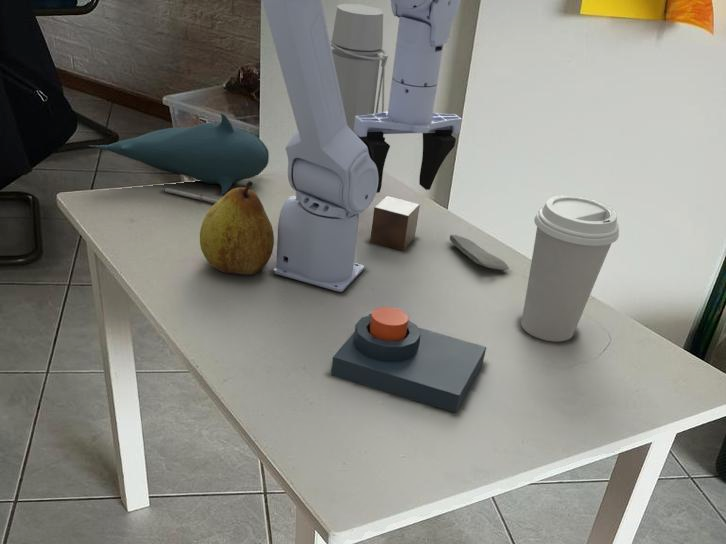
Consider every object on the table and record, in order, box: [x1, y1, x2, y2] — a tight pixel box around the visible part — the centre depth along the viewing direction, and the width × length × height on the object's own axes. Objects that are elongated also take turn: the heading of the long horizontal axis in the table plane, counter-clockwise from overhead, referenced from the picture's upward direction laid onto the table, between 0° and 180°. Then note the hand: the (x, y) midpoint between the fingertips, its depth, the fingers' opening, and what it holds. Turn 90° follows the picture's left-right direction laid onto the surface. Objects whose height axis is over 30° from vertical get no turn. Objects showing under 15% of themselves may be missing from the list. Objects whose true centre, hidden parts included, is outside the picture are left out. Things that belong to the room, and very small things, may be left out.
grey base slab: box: [330, 313, 487, 414], centre depth 89 cm, size 14×11×4 cm
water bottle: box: [330, 3, 389, 137], centre depth 120 cm, size 9×8×25 cm
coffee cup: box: [521, 194, 620, 343], centre depth 96 cm, size 10×10×15 cm
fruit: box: [199, 180, 275, 276], centre depth 100 cm, size 9×9×12 cm
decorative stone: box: [449, 234, 510, 271], centre depth 113 cm, size 11×1×5 cm
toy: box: [87, 113, 270, 195], centre depth 123 cm, size 11×26×15 cm
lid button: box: [369, 306, 410, 341], centre depth 88 cm, size 4×4×2 cm
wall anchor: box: [164, 187, 222, 204], centre depth 119 cm, size 1×9×1 cm, turn 71°
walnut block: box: [369, 195, 421, 251], centre depth 114 cm, size 5×5×5 cm
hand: (399, 188), depth 111 cm, fingers open, 7 cm apart
